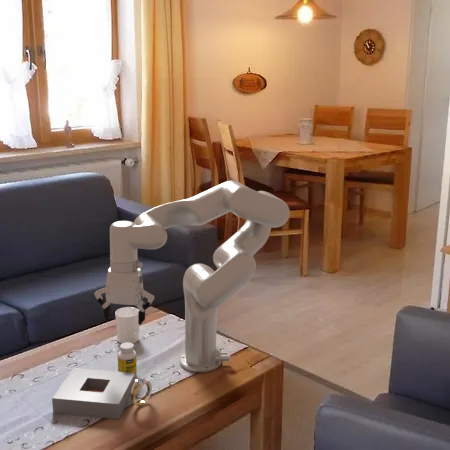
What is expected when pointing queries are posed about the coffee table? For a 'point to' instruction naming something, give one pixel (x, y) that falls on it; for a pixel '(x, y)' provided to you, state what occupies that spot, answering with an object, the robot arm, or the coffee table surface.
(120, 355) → the supplement bottle
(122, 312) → the white cup
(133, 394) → the ring
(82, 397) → the socket block
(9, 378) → the coffee table surface
